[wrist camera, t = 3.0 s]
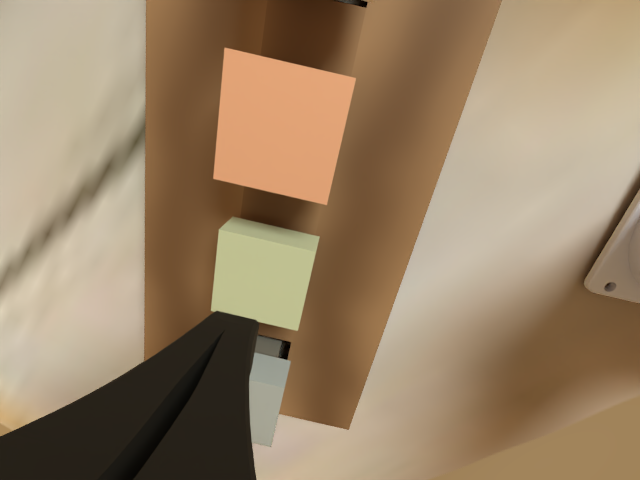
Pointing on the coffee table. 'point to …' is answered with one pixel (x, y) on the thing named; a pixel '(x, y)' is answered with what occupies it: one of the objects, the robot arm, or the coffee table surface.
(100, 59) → the coffee table surface
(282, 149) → the terracotta key
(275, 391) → the pale grey cube
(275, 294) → the pale green cube
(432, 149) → the brown wooden board
